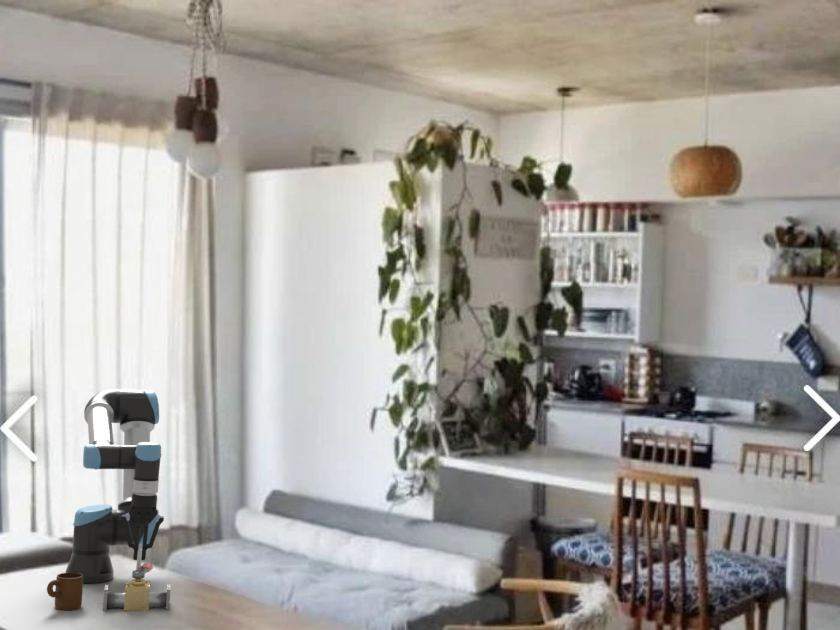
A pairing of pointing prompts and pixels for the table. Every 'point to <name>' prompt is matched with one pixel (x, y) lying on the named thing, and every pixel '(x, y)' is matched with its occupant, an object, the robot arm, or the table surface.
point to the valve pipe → (136, 597)
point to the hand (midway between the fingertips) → (138, 570)
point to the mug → (67, 591)
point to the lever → (142, 571)
